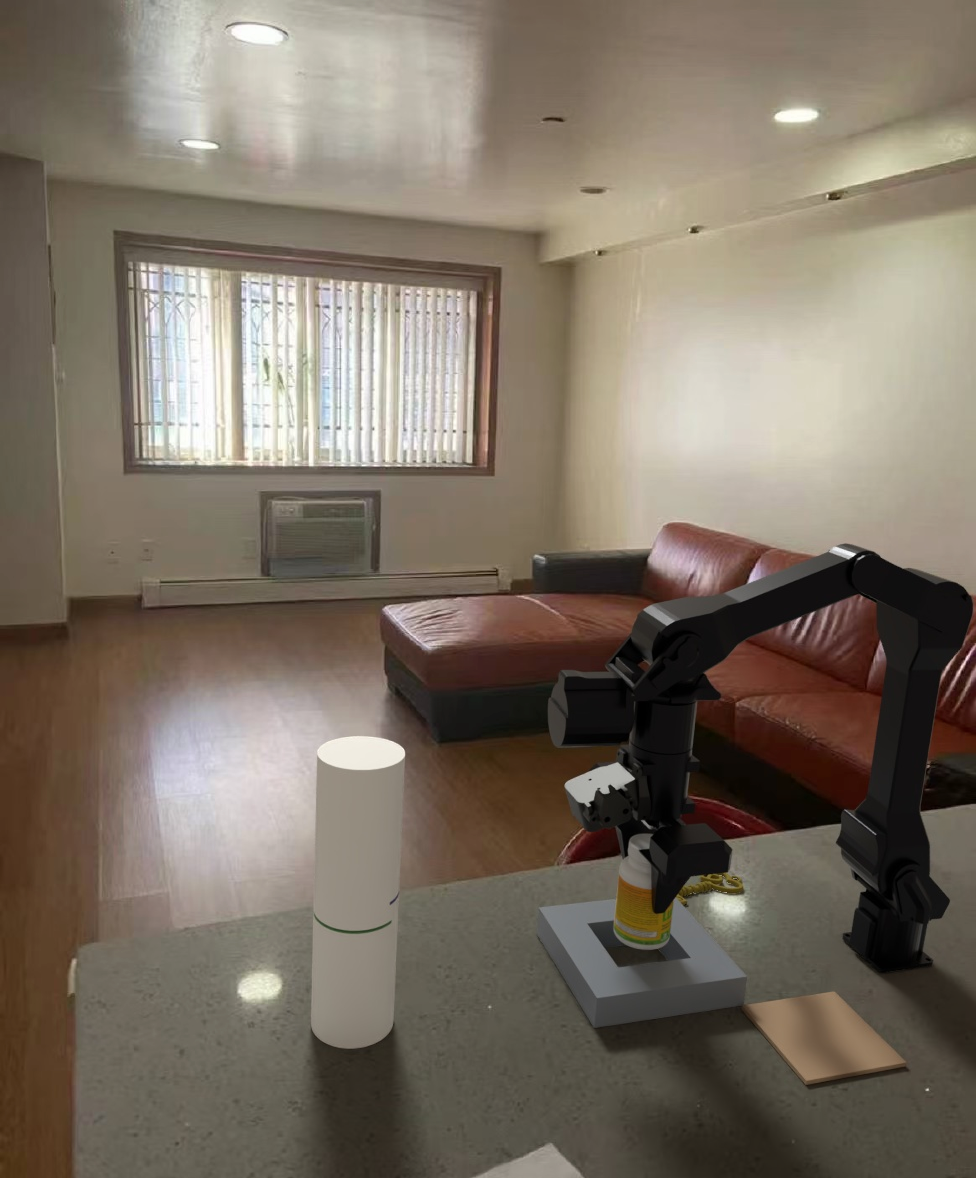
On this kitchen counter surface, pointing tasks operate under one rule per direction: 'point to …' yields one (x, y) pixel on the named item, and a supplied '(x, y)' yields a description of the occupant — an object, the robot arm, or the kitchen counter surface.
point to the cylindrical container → (356, 889)
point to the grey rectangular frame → (638, 966)
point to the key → (711, 885)
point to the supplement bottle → (639, 902)
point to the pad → (822, 1037)
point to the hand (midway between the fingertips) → (645, 896)
